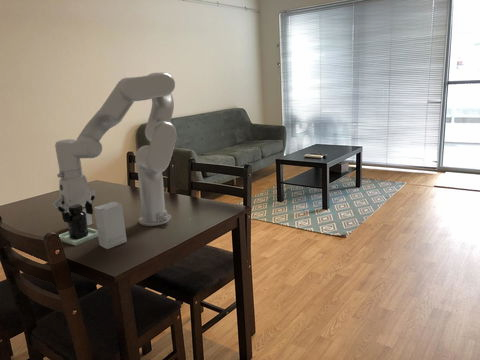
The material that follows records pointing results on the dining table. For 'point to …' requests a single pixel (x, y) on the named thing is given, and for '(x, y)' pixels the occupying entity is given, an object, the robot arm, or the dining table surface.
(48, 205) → the dining table surface
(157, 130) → the robot arm
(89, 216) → the unit
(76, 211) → the supplement bottle
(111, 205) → the skincare box
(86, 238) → the tray
